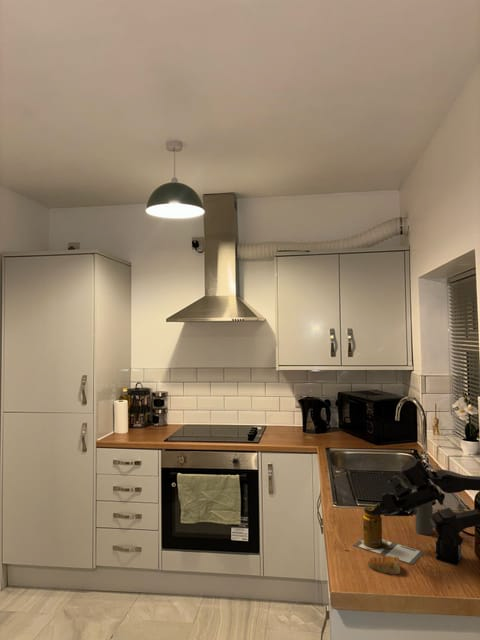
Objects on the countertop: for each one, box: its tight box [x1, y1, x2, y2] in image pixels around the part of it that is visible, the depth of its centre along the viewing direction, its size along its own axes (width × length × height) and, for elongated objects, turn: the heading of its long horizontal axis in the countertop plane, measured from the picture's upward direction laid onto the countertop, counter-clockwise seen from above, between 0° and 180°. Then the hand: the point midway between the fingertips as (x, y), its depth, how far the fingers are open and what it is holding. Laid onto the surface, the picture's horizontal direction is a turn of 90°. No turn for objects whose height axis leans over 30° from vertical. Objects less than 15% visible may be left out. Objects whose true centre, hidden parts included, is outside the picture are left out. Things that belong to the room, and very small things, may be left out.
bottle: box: [414, 501, 434, 536], centre depth 165 cm, size 6×6×15 cm
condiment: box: [359, 505, 392, 549], centre depth 155 cm, size 7×8×12 cm
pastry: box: [367, 555, 401, 575], centre depth 140 cm, size 9×7×4 cm
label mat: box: [352, 537, 425, 566], centre depth 152 cm, size 20×11×1 cm, turn 49°
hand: (378, 513), depth 154 cm, fingers open, 9 cm apart
